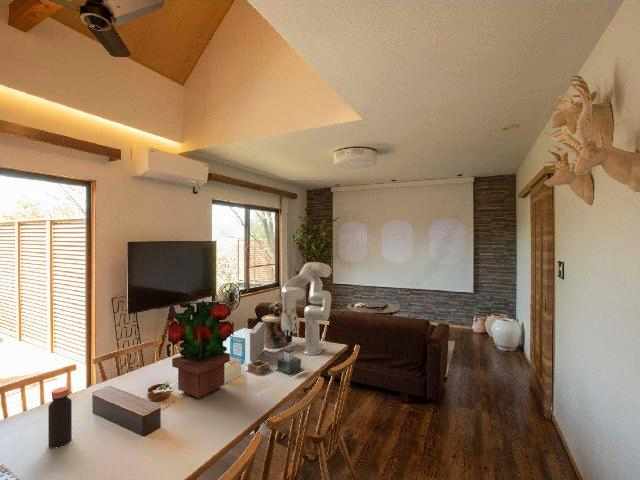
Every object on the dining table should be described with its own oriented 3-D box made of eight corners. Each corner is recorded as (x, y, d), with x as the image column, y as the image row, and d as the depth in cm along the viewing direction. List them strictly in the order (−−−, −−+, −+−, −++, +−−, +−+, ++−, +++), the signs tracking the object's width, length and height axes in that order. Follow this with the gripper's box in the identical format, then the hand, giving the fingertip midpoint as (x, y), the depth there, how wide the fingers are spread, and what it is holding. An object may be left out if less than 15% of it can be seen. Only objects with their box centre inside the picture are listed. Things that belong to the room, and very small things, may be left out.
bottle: (47, 442, 120) (47, 389, 120) (70, 434, 125) (70, 383, 125) (49, 451, 115) (49, 395, 115) (72, 442, 120) (72, 389, 120)
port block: (289, 365, 193) (289, 354, 193) (303, 370, 186) (303, 358, 186) (274, 371, 184) (274, 359, 184) (289, 377, 177) (289, 364, 177)
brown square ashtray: (259, 366, 191) (259, 358, 191) (272, 371, 185) (272, 362, 185) (244, 372, 183) (244, 364, 183) (257, 377, 176) (257, 368, 176)
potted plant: (205, 377, 176) (204, 296, 176) (233, 387, 165) (233, 300, 165) (168, 394, 157) (168, 303, 157) (197, 406, 146) (197, 308, 146)
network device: (259, 365, 194) (259, 332, 194) (245, 364, 195) (245, 332, 195) (267, 350, 220) (267, 321, 220) (254, 350, 220) (254, 321, 220)
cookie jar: (251, 346, 228) (251, 302, 229) (276, 338, 247) (276, 297, 247) (274, 354, 213) (274, 306, 213) (299, 345, 232) (299, 301, 232)
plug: (289, 367, 188) (289, 347, 188) (294, 369, 185) (293, 348, 185) (284, 369, 185) (284, 349, 185) (289, 371, 182) (289, 350, 182)
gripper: (302, 311, 183) (302, 343, 183) (284, 307, 193) (284, 338, 192) (294, 313, 177) (293, 346, 177) (275, 309, 187) (275, 341, 187)
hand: (289, 341), depth 185 cm, fingers closed
